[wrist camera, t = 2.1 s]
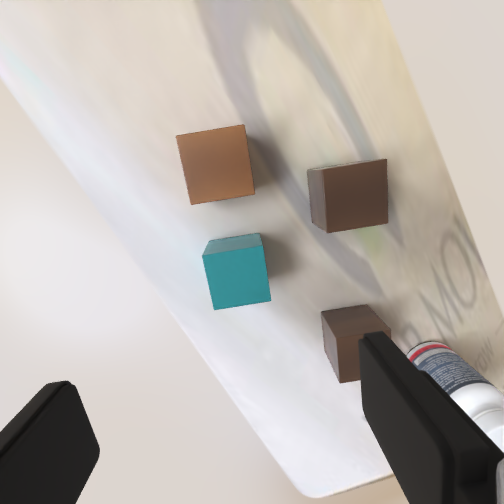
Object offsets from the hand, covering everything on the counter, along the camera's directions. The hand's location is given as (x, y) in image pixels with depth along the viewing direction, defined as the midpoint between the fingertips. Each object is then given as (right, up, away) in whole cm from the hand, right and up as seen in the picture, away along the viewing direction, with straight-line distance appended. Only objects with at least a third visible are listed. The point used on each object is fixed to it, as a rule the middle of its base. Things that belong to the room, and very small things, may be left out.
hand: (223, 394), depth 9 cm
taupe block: (+8, +10, +14) cm, 19 cm away
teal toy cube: (0, +4, +15) cm, 16 cm away
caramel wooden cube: (-2, +11, +13) cm, 18 cm away
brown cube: (+10, -3, +18) cm, 21 cm away
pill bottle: (+19, -7, +19) cm, 28 cm away
